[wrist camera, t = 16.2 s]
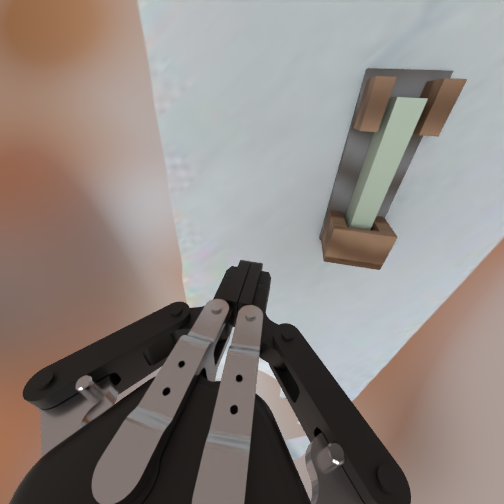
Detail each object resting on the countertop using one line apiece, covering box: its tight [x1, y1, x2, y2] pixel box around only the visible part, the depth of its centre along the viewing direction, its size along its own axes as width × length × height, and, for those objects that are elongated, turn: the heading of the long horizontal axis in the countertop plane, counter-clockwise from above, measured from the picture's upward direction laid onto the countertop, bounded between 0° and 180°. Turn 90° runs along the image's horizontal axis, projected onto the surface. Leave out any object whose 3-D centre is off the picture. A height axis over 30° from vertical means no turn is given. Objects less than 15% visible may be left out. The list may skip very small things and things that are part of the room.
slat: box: [345, 97, 428, 230], centre depth 30 cm, size 20×3×4 cm, turn 178°
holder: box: [320, 68, 467, 270], centre depth 29 cm, size 24×9×8 cm, turn 178°
